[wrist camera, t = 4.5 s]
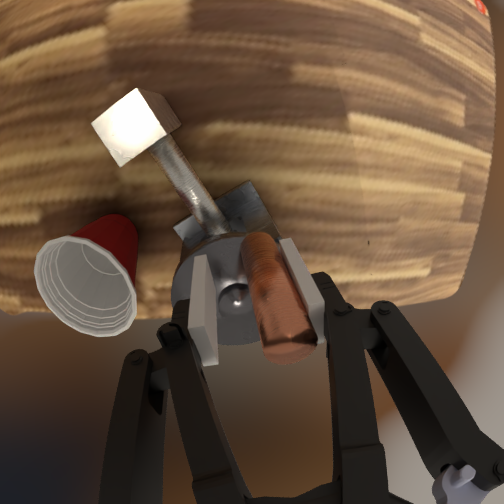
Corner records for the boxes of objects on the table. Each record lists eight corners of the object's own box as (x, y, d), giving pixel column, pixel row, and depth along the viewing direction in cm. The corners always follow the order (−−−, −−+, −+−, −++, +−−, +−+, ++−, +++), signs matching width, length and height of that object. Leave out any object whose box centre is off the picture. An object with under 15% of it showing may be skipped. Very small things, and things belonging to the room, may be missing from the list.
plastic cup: (68, 197, 28) (15, 242, 18) (152, 188, 30) (123, 234, 19) (86, 274, 34) (53, 337, 23) (162, 272, 35) (148, 341, 25)
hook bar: (130, 116, 25) (90, 123, 16) (162, 94, 25) (136, 87, 15) (225, 255, 35) (233, 315, 25) (254, 239, 34) (273, 295, 25)
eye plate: (173, 224, 32) (160, 277, 23) (249, 179, 31) (268, 215, 21) (206, 268, 36) (208, 329, 26) (277, 228, 34) (304, 280, 25)
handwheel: (164, 315, 24) (152, 431, 14) (191, 201, 20) (177, 305, 10) (269, 333, 27) (298, 438, 17) (316, 235, 22) (388, 335, 13)
